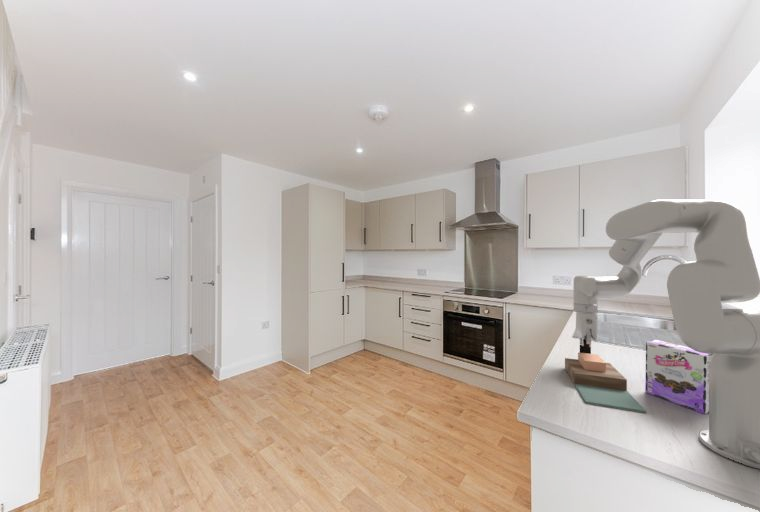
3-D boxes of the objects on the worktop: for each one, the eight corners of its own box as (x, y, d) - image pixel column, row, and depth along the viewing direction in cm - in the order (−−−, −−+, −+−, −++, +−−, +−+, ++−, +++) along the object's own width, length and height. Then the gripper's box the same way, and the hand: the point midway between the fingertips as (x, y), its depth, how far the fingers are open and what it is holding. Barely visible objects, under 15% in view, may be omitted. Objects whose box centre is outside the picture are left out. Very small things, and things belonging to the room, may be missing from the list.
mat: (646, 413, 80) (646, 410, 80) (585, 403, 85) (585, 401, 85) (627, 393, 91) (627, 391, 91) (575, 385, 97) (575, 383, 97)
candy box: (644, 392, 92) (644, 340, 92) (655, 389, 94) (655, 338, 94) (705, 415, 79) (705, 354, 79) (716, 410, 81) (717, 352, 81)
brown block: (626, 392, 92) (626, 379, 92) (574, 384, 97) (574, 373, 97) (609, 374, 106) (609, 363, 106) (565, 368, 111) (565, 358, 111)
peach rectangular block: (605, 371, 98) (605, 363, 98) (584, 369, 100) (584, 360, 100) (597, 362, 106) (597, 354, 106) (578, 360, 108) (578, 352, 108)
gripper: (603, 312, 102) (603, 364, 102) (591, 305, 116) (591, 351, 116) (578, 311, 105) (578, 361, 105) (569, 304, 119) (569, 349, 119)
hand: (585, 356), depth 110 cm, fingers closed
